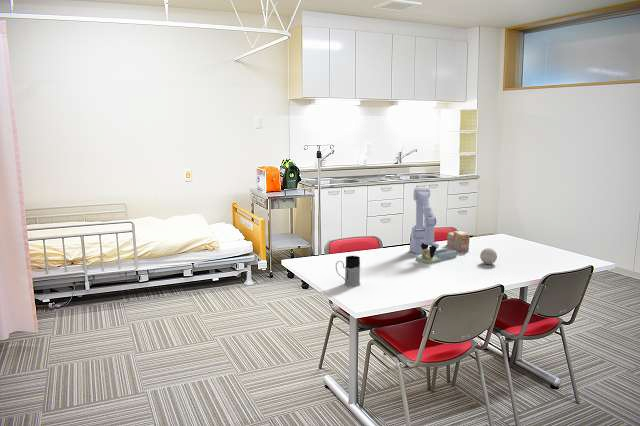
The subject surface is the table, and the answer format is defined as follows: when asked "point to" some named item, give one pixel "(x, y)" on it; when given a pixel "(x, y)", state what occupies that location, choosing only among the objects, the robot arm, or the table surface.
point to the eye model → (488, 256)
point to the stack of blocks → (458, 241)
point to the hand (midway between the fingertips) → (428, 256)
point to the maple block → (426, 253)
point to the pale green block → (438, 256)
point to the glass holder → (351, 271)
